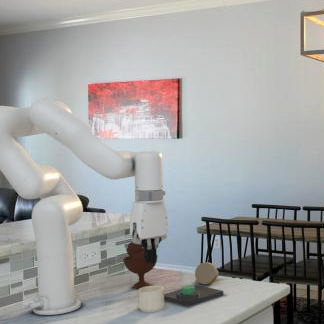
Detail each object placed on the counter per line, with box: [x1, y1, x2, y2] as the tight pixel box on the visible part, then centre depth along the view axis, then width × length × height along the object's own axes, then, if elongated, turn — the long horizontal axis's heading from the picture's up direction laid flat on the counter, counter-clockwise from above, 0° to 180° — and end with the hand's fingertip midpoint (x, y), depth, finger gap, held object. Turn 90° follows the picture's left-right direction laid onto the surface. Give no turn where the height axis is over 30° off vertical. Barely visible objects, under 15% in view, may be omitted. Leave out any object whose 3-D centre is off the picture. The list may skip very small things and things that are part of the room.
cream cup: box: [137, 285, 165, 313], centre depth 149 cm, size 7×7×6 cm
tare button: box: [181, 284, 195, 295], centre depth 153 cm, size 4×4×2 cm
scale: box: [164, 284, 224, 307], centre depth 159 cm, size 15×13×3 cm
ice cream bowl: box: [122, 240, 159, 290], centre depth 174 cm, size 11×11×15 cm
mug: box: [194, 261, 219, 286], centre depth 176 cm, size 8×10×10 cm
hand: (150, 262), depth 149 cm, fingers closed
